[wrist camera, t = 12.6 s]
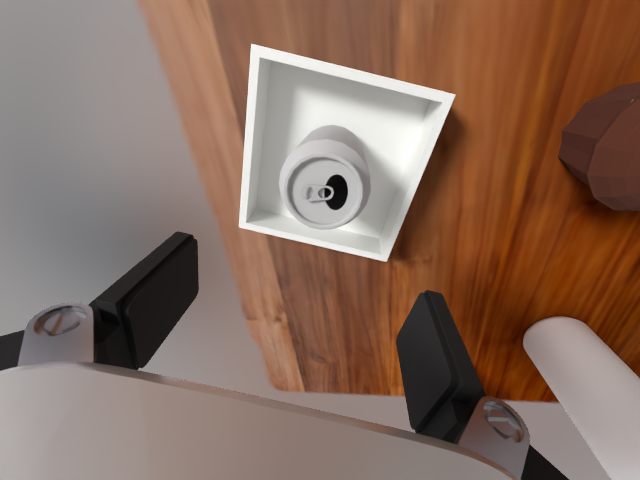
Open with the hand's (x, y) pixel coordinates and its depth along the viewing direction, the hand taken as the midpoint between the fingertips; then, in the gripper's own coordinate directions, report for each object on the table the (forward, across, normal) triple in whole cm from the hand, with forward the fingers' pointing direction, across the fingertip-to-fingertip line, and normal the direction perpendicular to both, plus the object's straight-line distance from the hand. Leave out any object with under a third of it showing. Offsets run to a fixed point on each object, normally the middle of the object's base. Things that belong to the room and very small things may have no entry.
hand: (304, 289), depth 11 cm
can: (+23, 0, 0) cm, 23 cm away
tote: (+24, 0, 0) cm, 24 cm away
